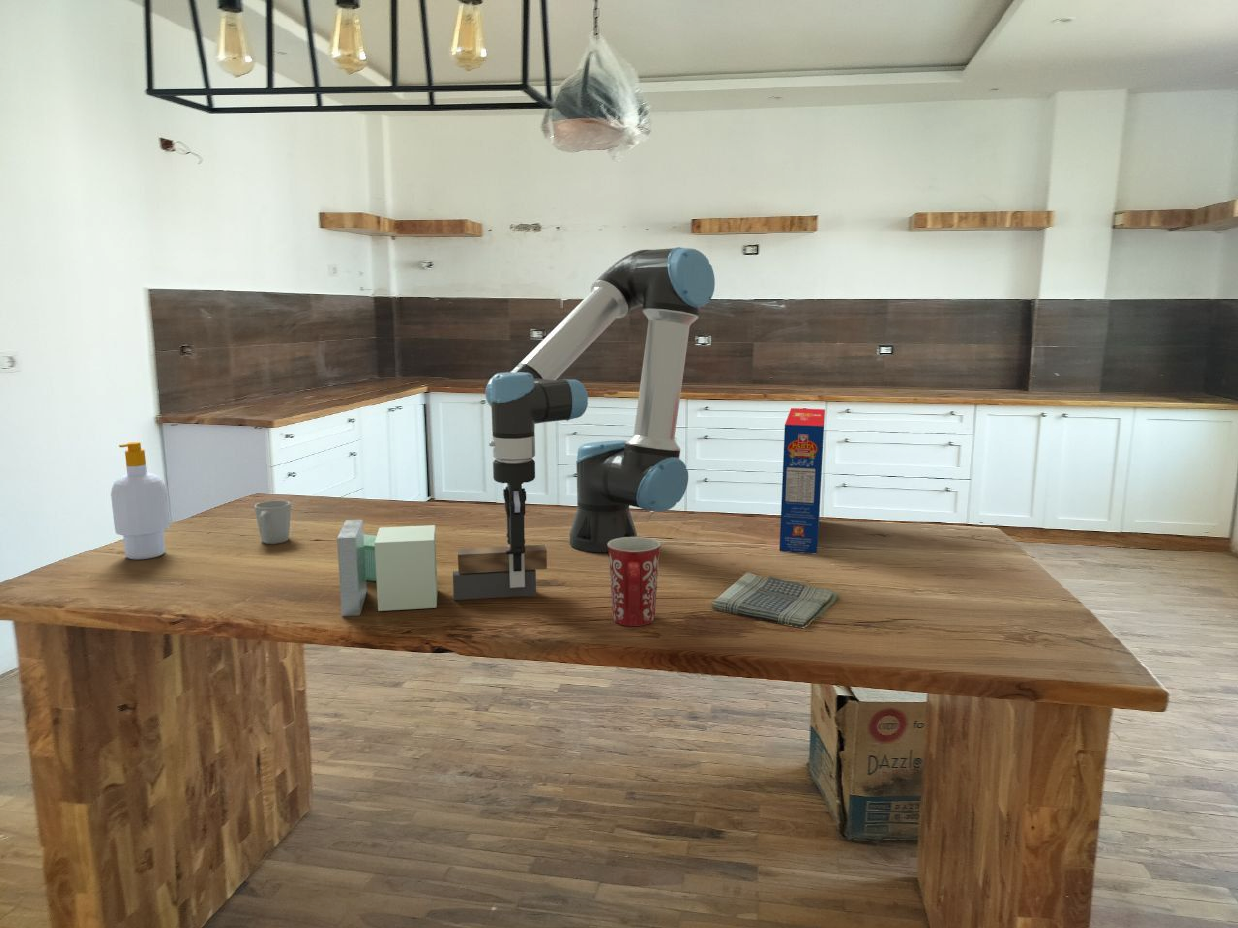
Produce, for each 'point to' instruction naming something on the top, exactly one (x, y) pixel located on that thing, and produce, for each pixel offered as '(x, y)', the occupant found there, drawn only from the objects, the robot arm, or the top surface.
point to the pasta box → (802, 480)
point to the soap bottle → (140, 507)
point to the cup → (273, 520)
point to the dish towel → (775, 600)
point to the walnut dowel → (499, 559)
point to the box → (370, 557)
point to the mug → (633, 579)
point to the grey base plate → (352, 567)
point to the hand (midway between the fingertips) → (516, 582)
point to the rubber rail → (491, 585)
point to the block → (406, 567)
